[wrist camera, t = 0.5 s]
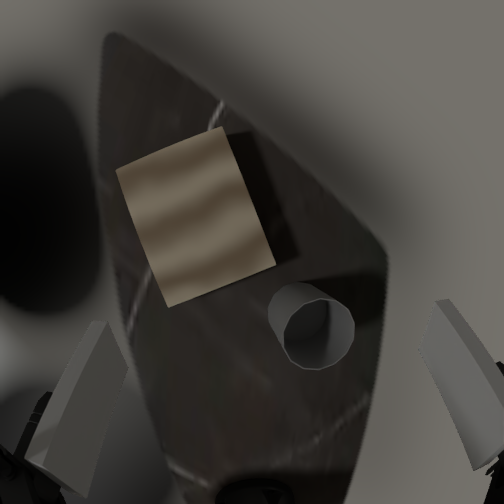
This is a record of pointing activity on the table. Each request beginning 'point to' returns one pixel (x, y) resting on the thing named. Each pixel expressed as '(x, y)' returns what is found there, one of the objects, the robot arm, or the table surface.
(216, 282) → the oak stand
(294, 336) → the cup
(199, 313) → the table surface
